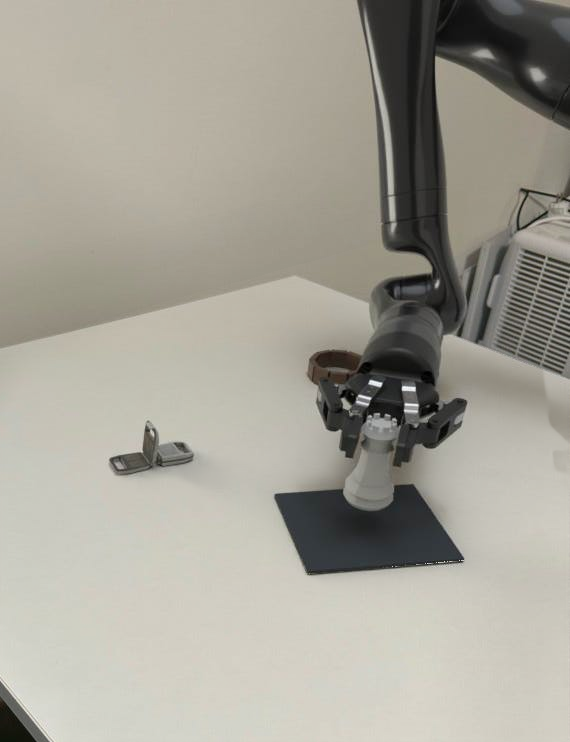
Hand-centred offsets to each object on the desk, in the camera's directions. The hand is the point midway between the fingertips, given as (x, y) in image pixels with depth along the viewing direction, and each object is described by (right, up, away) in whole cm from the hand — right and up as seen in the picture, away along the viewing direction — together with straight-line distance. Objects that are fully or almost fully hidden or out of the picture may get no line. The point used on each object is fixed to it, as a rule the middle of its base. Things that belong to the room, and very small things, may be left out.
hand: (374, 452), depth 68 cm
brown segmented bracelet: (+4, +13, +33) cm, 36 cm away
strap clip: (-19, +1, +17) cm, 25 cm away
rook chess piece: (+1, -4, +6) cm, 7 cm away
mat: (+1, -6, +8) cm, 10 cm away
